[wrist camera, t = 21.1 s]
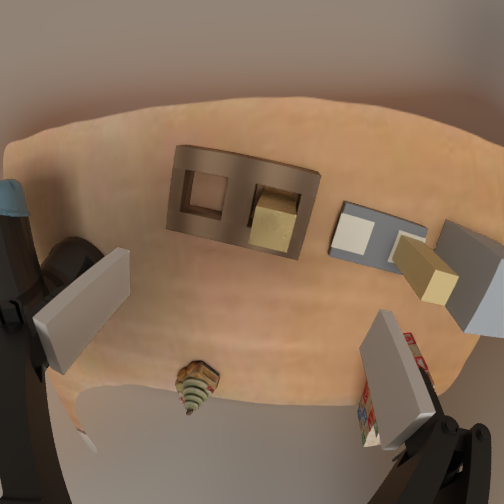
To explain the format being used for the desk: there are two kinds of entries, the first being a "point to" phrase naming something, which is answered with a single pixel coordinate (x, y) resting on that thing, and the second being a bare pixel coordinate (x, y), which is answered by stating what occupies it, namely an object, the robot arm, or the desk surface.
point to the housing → (474, 279)
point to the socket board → (236, 196)
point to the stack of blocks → (366, 406)
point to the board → (392, 250)
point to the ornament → (196, 385)
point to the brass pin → (273, 220)
